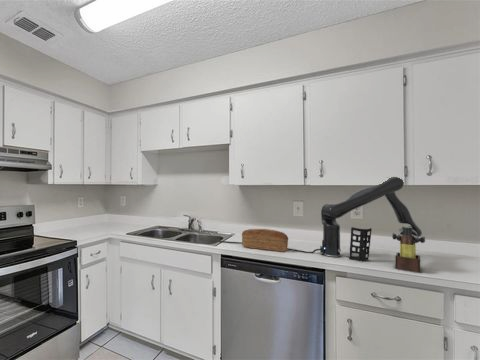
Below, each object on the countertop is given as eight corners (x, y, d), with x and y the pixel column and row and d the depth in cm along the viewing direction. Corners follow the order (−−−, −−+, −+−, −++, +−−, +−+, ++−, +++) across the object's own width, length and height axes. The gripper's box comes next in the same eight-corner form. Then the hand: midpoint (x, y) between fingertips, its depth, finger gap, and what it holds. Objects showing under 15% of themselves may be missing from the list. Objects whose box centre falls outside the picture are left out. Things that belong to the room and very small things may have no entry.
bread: (243, 244, 200) (243, 226, 200) (288, 249, 185) (288, 230, 185) (240, 247, 189) (240, 228, 190) (287, 253, 175) (287, 232, 175)
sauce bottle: (418, 265, 141) (419, 228, 141) (405, 264, 142) (406, 227, 142) (409, 261, 147) (410, 226, 147) (396, 260, 149) (397, 225, 148)
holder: (363, 257, 165) (365, 226, 163) (373, 262, 158) (376, 229, 156) (346, 257, 165) (348, 226, 163) (355, 262, 157) (357, 229, 155)
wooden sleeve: (395, 268, 144) (395, 255, 144) (396, 264, 152) (396, 252, 152) (420, 273, 137) (420, 259, 138) (420, 268, 145) (420, 255, 145)
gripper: (392, 227, 160) (389, 231, 148) (426, 231, 150) (426, 235, 138) (392, 239, 160) (389, 244, 148) (426, 244, 150) (426, 249, 138)
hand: (407, 240), depth 143 cm, fingers closed on sauce bottle, 6 cm apart
